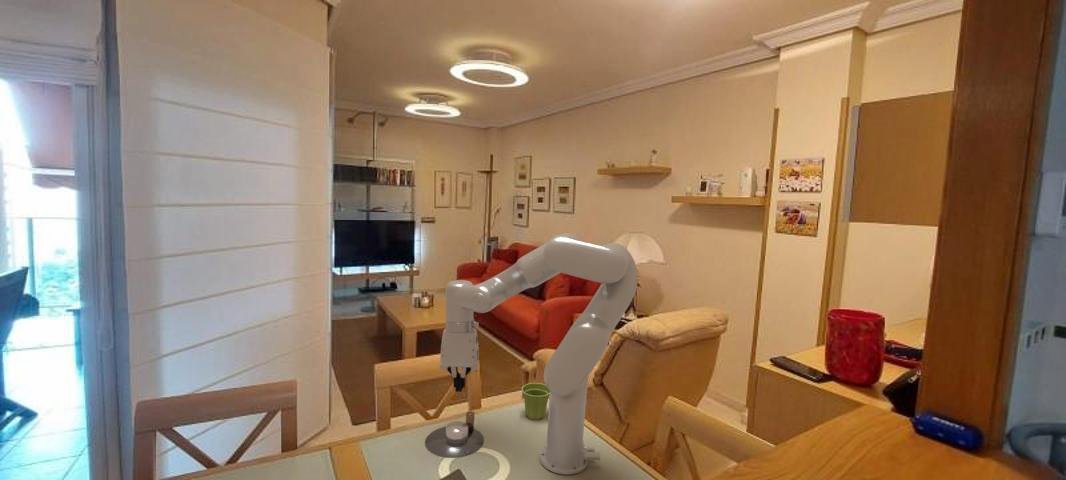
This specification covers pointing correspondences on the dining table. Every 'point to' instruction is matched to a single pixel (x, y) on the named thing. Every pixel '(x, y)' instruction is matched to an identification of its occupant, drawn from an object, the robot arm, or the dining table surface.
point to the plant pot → (535, 400)
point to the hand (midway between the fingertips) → (459, 389)
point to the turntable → (440, 448)
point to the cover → (456, 434)
